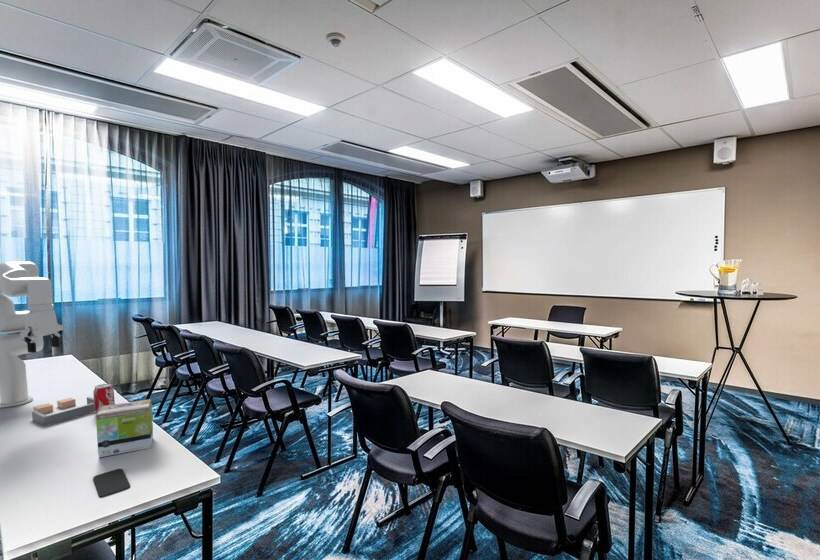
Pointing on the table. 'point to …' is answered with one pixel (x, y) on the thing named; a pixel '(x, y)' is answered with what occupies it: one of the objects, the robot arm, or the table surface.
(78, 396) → the table surface
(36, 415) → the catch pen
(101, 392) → the soda can
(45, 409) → the light orange-brown block
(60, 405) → the peach rectangular block
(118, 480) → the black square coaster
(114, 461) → the table surface
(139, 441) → the tea box
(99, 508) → the table surface
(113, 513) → the table surface
